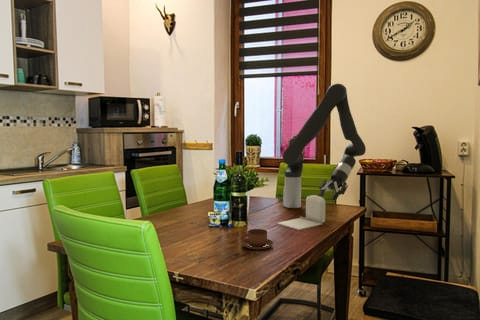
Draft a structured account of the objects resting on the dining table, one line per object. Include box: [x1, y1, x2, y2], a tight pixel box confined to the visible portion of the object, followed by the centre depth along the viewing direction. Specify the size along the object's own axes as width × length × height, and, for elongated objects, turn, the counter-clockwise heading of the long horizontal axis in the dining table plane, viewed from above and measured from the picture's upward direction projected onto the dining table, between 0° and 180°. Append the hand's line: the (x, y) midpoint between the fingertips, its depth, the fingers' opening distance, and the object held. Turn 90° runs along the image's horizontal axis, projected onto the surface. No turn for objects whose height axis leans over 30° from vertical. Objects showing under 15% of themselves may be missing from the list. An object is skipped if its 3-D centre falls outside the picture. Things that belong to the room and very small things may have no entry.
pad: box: [276, 216, 324, 231], centre depth 189 cm, size 14×16×1 cm
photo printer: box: [305, 194, 326, 223], centre depth 195 cm, size 10×4×12 cm, turn 39°
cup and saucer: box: [241, 228, 274, 251], centre depth 154 cm, size 12×12×6 cm
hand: (326, 198), depth 200 cm, fingers open, 8 cm apart
